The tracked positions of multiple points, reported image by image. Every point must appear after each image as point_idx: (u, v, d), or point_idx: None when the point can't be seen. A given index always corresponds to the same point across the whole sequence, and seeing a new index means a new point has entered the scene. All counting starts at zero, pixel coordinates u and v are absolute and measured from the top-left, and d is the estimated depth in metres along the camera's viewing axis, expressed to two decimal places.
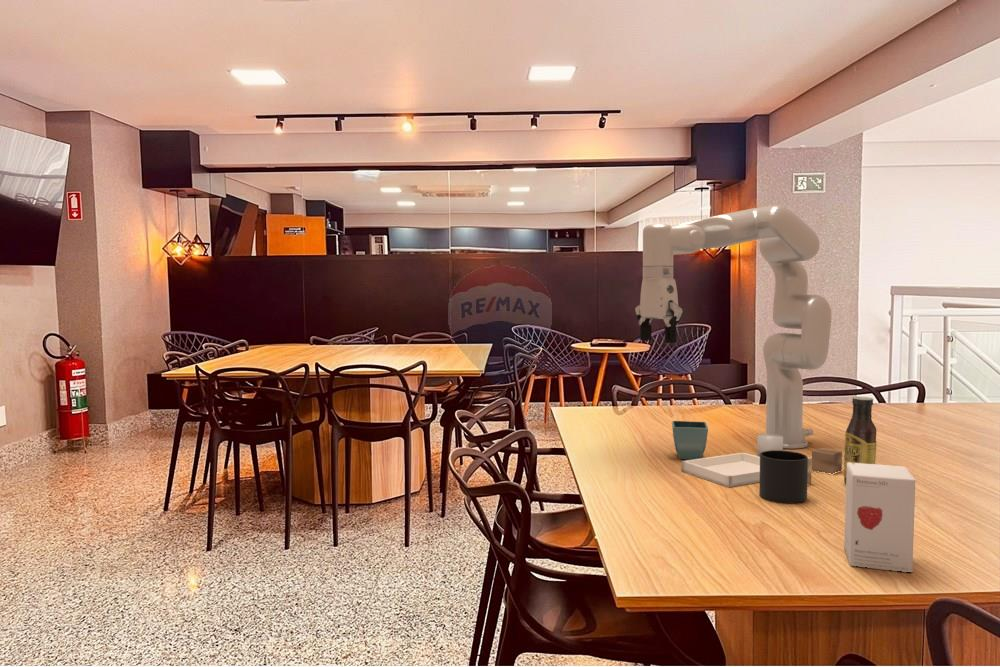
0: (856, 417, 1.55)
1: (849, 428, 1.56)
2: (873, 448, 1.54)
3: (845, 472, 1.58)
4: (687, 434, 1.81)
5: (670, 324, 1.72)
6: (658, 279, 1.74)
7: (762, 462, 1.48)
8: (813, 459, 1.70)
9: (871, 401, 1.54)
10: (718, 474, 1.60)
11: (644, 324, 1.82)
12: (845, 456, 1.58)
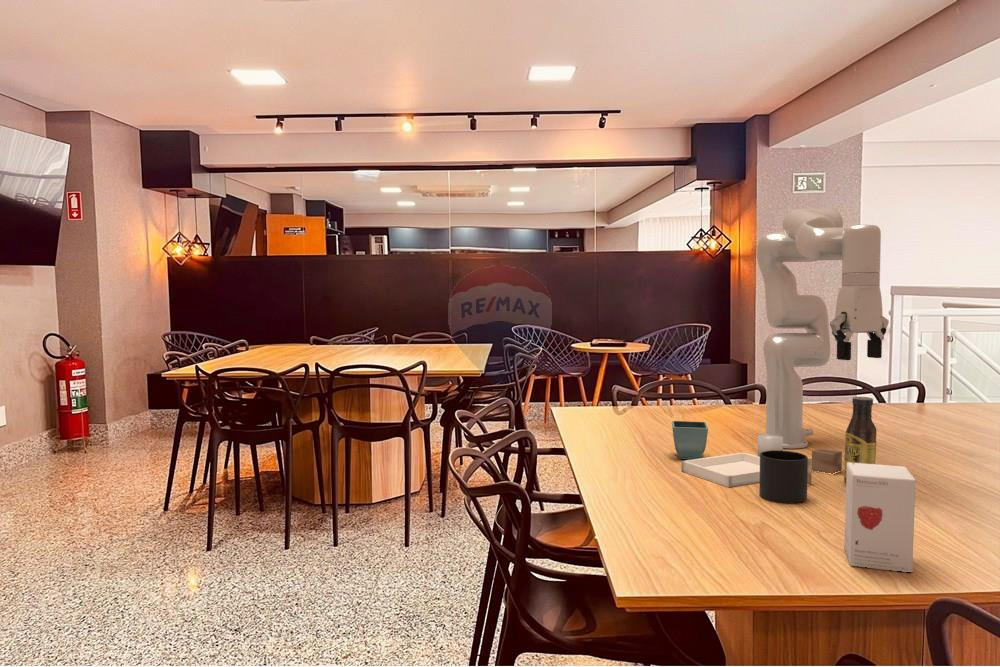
0: (856, 417, 1.55)
1: (849, 428, 1.56)
2: (873, 448, 1.54)
3: (845, 472, 1.58)
4: (687, 434, 1.81)
5: None
6: (877, 287, 1.55)
7: (762, 462, 1.48)
8: (813, 459, 1.70)
9: (871, 401, 1.54)
10: (718, 474, 1.60)
11: None
12: (845, 456, 1.58)
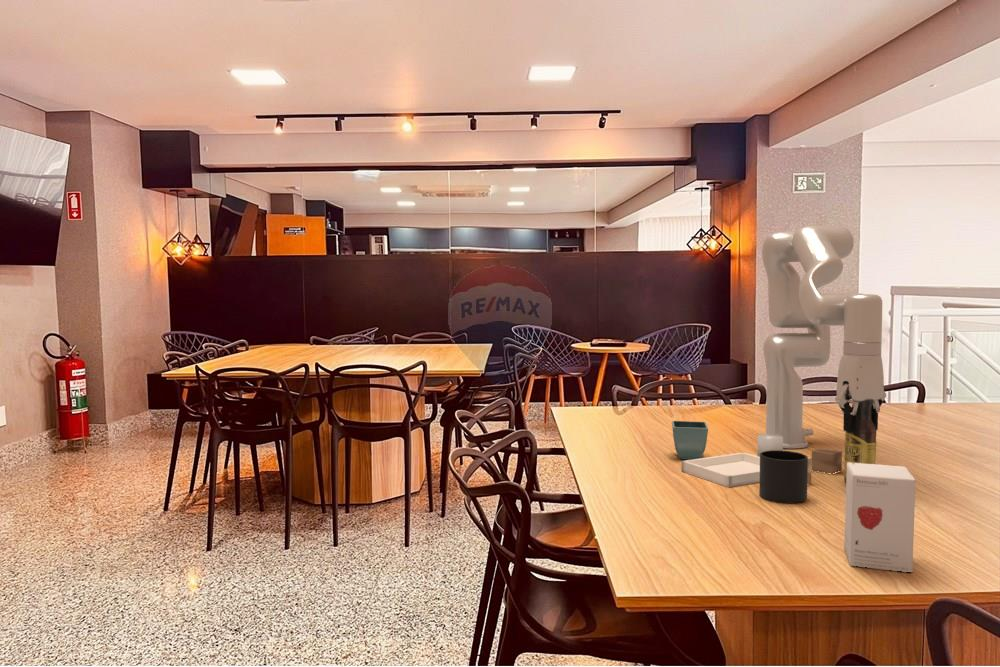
0: None
1: None
2: (873, 448, 1.54)
3: (845, 472, 1.58)
4: (687, 434, 1.81)
5: None
6: None
7: (762, 462, 1.48)
8: (813, 459, 1.70)
9: (871, 401, 1.54)
10: (718, 474, 1.60)
11: None
12: (845, 456, 1.58)
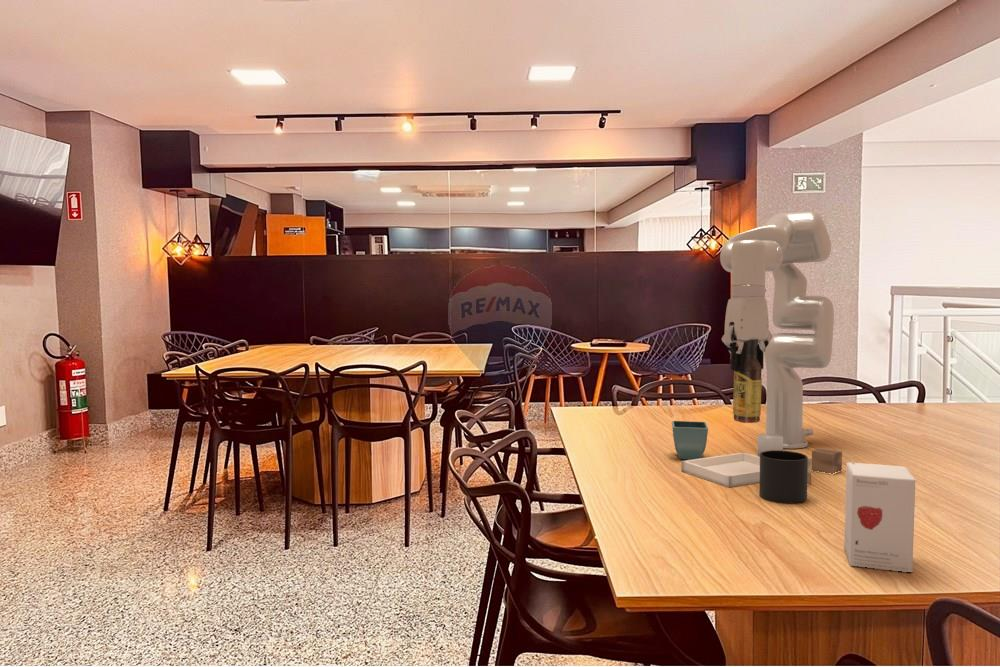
0: (743, 356, 1.64)
1: None
2: (758, 385, 1.63)
3: (734, 409, 1.67)
4: (687, 434, 1.81)
5: None
6: (763, 298, 1.64)
7: (762, 462, 1.48)
8: (813, 459, 1.70)
9: (756, 341, 1.63)
10: (718, 474, 1.60)
11: None
12: (734, 394, 1.67)
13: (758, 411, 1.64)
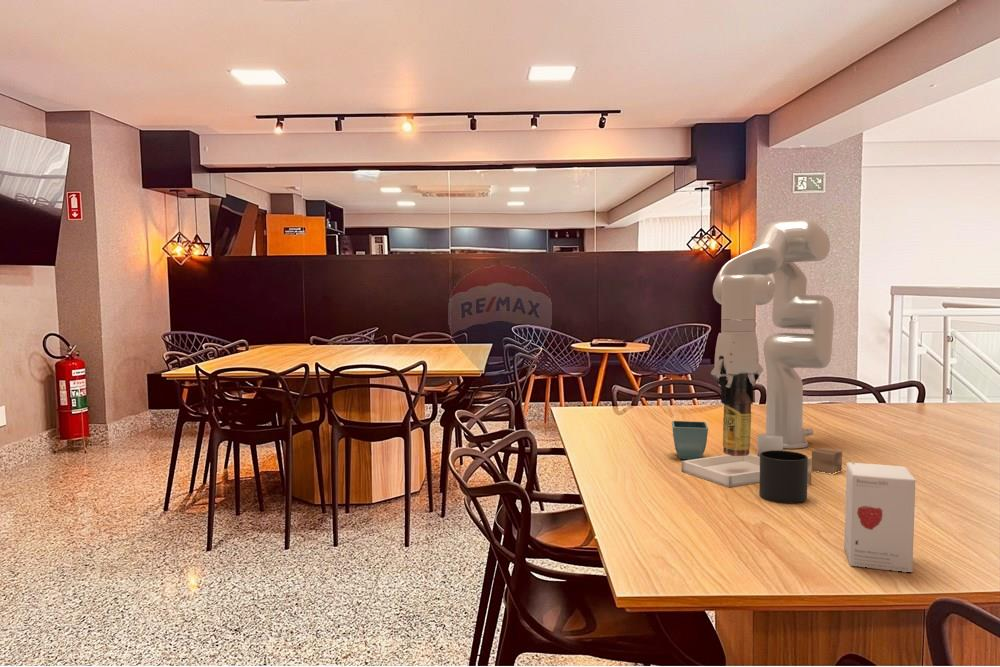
0: None
1: None
2: (747, 418, 1.65)
3: (723, 442, 1.68)
4: (687, 434, 1.81)
5: None
6: (753, 333, 1.66)
7: (762, 462, 1.48)
8: (813, 459, 1.70)
9: (745, 375, 1.65)
10: (718, 474, 1.60)
11: None
12: (723, 427, 1.68)
13: (747, 444, 1.65)
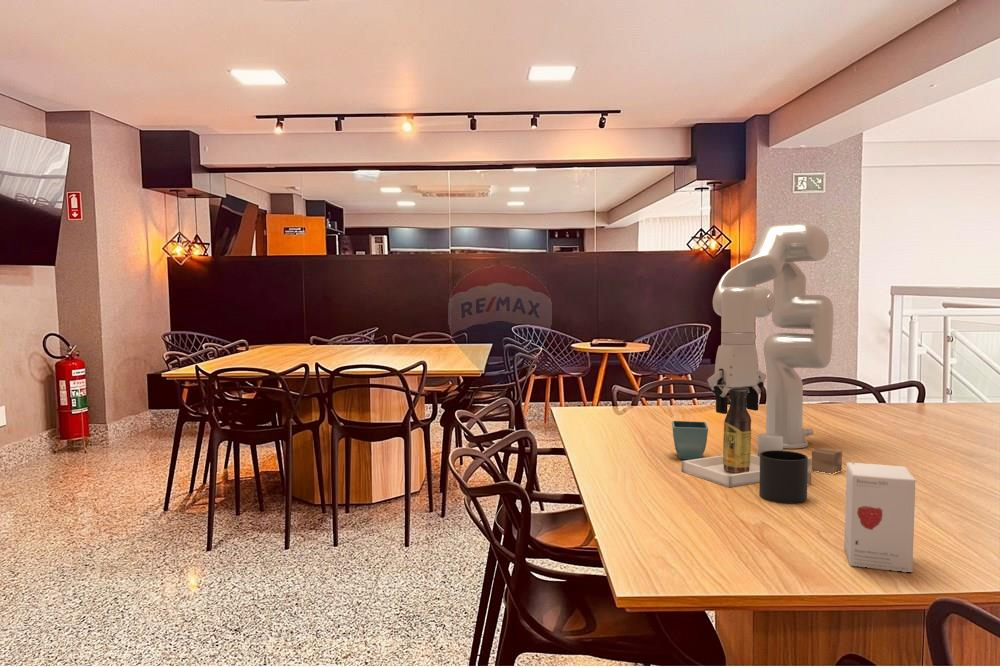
0: (732, 407, 1.66)
1: (726, 417, 1.67)
2: (748, 436, 1.65)
3: (723, 459, 1.68)
4: (687, 434, 1.81)
5: None
6: (753, 345, 1.66)
7: (762, 462, 1.48)
8: (813, 459, 1.70)
9: (745, 392, 1.65)
10: (718, 474, 1.60)
11: None
12: (723, 444, 1.68)
13: (747, 462, 1.66)
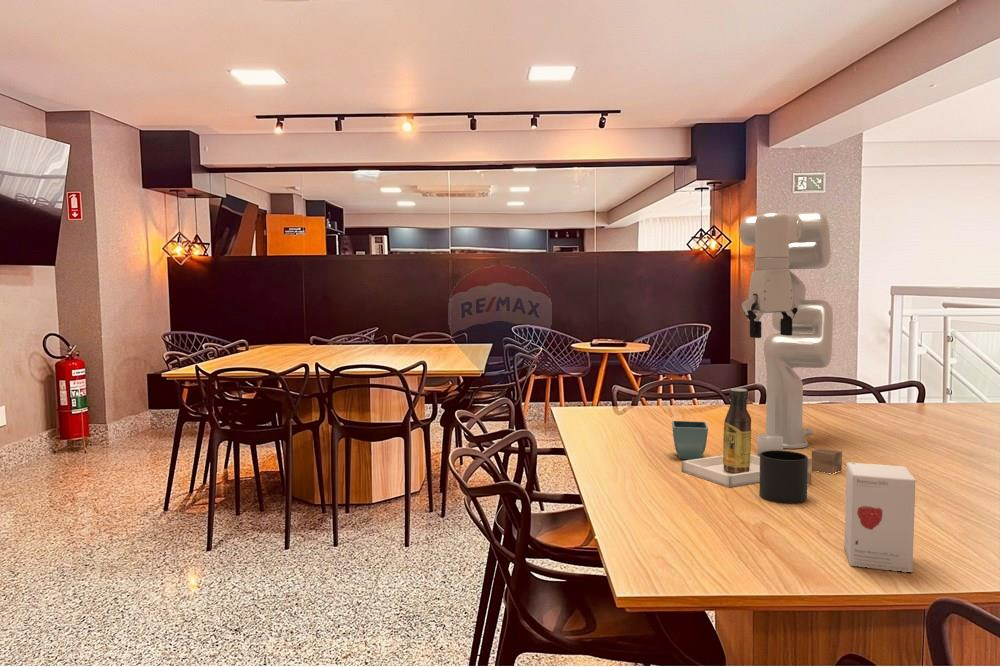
0: (732, 407, 1.66)
1: (726, 417, 1.67)
2: (748, 436, 1.65)
3: (723, 459, 1.68)
4: (687, 434, 1.81)
5: None
6: (787, 270, 1.68)
7: (762, 462, 1.48)
8: (813, 459, 1.70)
9: (745, 392, 1.65)
10: (718, 474, 1.60)
11: None
12: (723, 444, 1.68)
13: (747, 462, 1.66)
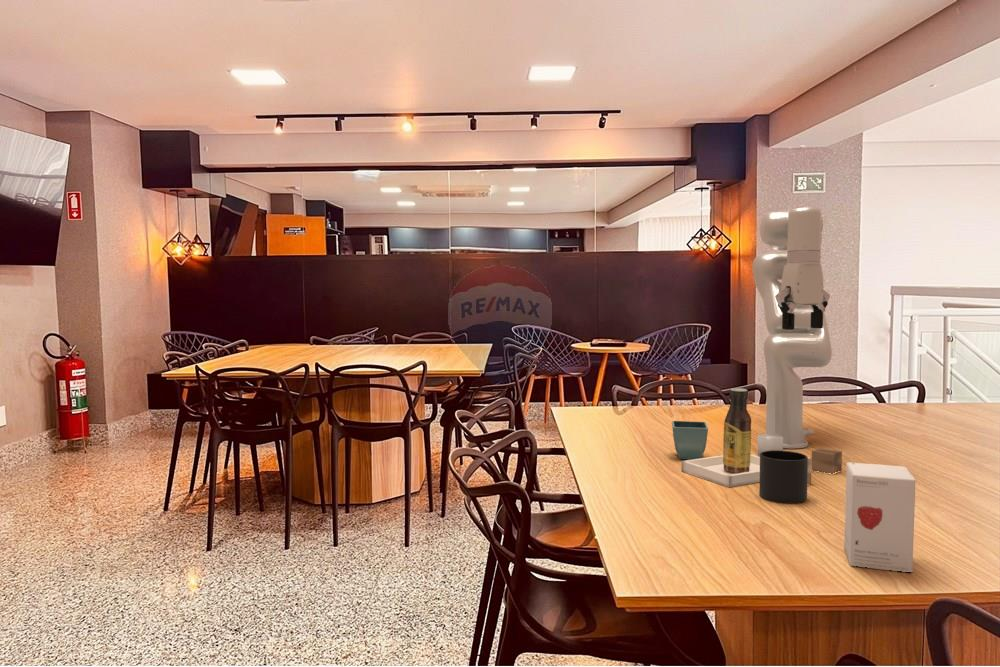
0: (732, 407, 1.66)
1: (726, 417, 1.67)
2: (748, 436, 1.65)
3: (723, 459, 1.68)
4: (687, 434, 1.81)
5: None
6: (819, 264, 1.71)
7: (762, 462, 1.48)
8: (813, 459, 1.70)
9: (745, 392, 1.65)
10: (718, 474, 1.60)
11: None
12: (723, 444, 1.68)
13: (747, 462, 1.66)
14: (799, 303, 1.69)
